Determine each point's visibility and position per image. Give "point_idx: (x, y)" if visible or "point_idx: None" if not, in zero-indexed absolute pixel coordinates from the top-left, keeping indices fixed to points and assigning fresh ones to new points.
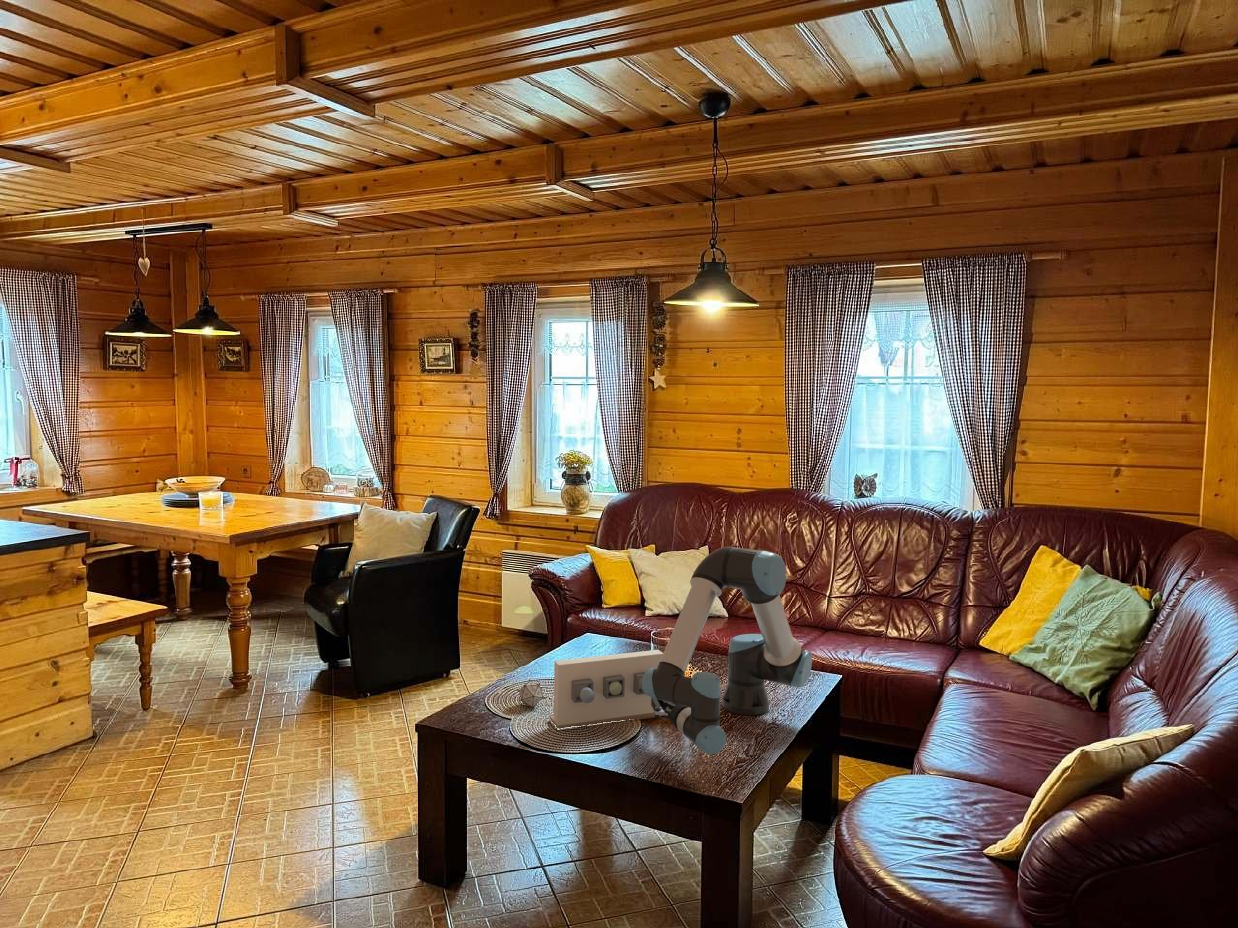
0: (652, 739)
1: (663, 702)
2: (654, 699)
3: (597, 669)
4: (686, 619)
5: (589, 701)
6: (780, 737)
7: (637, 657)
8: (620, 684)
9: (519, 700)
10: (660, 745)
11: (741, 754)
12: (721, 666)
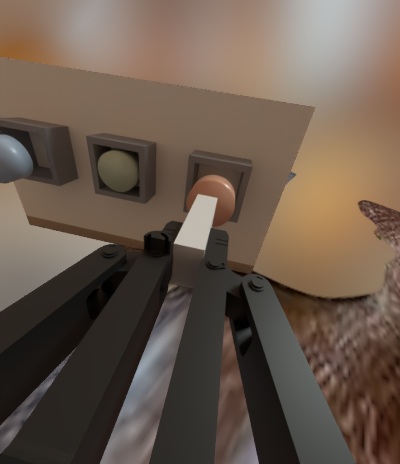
0: (137, 374)
1: (61, 379)
2: (62, 285)
3: (84, 103)
4: None
5: (3, 179)
6: None
7: (214, 95)
8: (129, 164)
9: None
10: (112, 458)
11: None
12: (391, 218)
